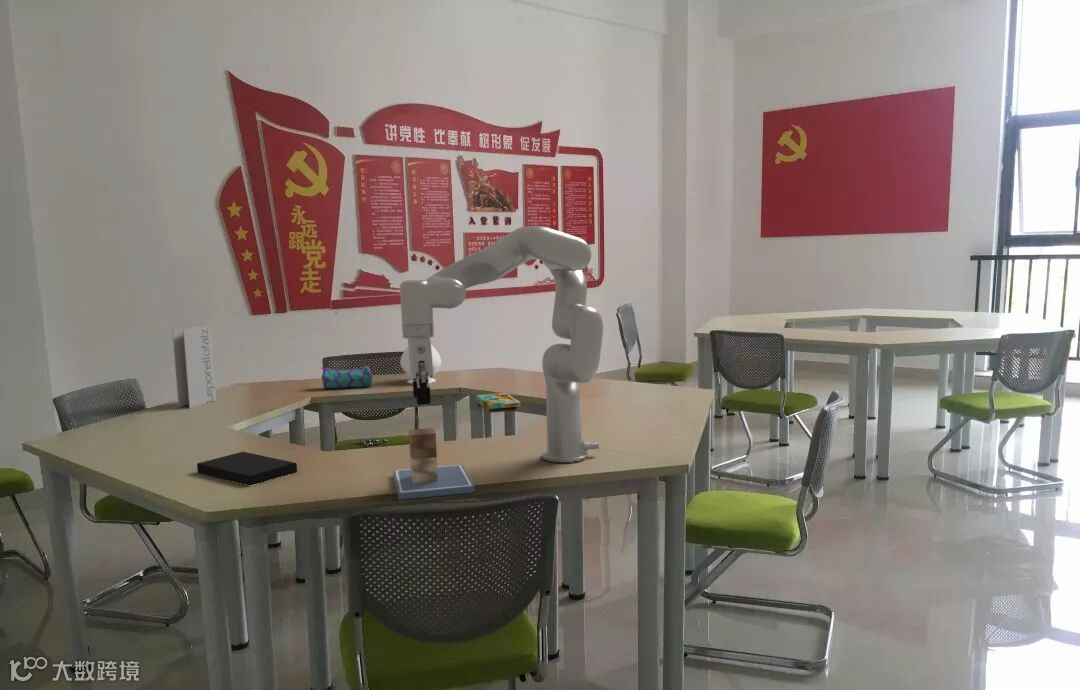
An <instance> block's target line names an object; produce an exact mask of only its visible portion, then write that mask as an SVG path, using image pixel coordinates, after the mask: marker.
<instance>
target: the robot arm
mask: <svg viewBox="0 0 1080 690" xmlns="http://www.w3.org/2000/svg"><path fill="white" fill-rule="evenodd" d="M591 259H592V250H591V247H590V245H589V244H588V243H587V242H586V240H584V239H582V238H580V237H577V236H574V235H571V234H568V233H565V232H562V231H559V230H555V229H552V228H549V227H546V226H541V225H533V226H532V225H531V226H529V225H528V226H521V227H518V228H517V229H514V230H512V231H511V232H509V233H507V234H506V235H504V236H502V237H501V238H499V239H497V240H496V241H495V242H493V243H491V244H489V245H488V246H486V247H484V248H483V249H481V250H478V251H476V252H474V253H472V254H470V255H469V256H467V257H464V258H462V259H459V260H458V261H456V262H453V263H451V264H450V265H448V266H446V267H444V268H442V269H440V270H439V271H437V272H435V273H434V274H432V275H431V276H429V277H428V278H426V279H410V280H404V281H402V282H401V283H400V285H399V297H400V313H401V329H402V330H401V331H402V332H401V333H402V338H403V339H405V340H406V339H407V347H408V351H409V362H410V370H411V374H412V376H413V384H412V393H413V398H416V404H417V405H418V406H420V405H430V404H431V402H432V401H431V387H430V383H429V380H428V376H430V378H433V379H434V376H435V374H433V363H432V350H431V345H432V344H431V338H433V337H435V331H434V328H435V327H434V314H433V313H434V311H433V309H450V310H451V309H455V308H457V307H459V306H461V305H462V304H463V303H464V301H465V299H466V297H467V291H466V290H467V289H469V288H471V287H472V288H473V287H475V286H478V285H484V284H488V283H492V282H494V281H497V280H500V279H501V278H503V277H504V276H505V275H507V274H509V273H511V272H512V271H513V270H515V269H517V268H519V267H520V266H521V265H523V264H525V263H526V262H528V261H531V260H540V261H541V262H542V263H543V265H544V266H545V267H546V268H547V269H548V270H549V272H550V273H551V275H552V277H553V279H554V282H555V283H554V284H555V294H554V296H555V297H554V303H553V311H552V319H551V330H552V331H553V333H554V335H556V336H557V337H558V338H560V339H565V340H570V344H569V343H568V344H567V343H554V344H552V345H550V346H549V347H548V348H546V350H545V351H544V353H543V356H542V361H541V367H542V371H543V372H542V373H543V377H544V383H545V396H546V397H545V398H546V399H545V400H546V403H545V404H546V440H547V441H546V443H547V444H546V447H547V449H546V450H544V451H542V453H541V458H542V459H543V460H544V461H546V460H547V462H550V461H551V463H557V462H560V463H559V464H562V463H561V462H571V463H574V462H573V461H578V460H582V459H584V460H586V459H587V458H588V450H599V449H600V448H599V446H600V445H599V442H598V441H595V442H594V441H593V442H592V441H585V440H584V439H583V438H582V395H581V393H582V392H581V386H580V384H584V383H588V382H590V381H591V380H593V378H594V377H595V376H596V374H597V372H598V369H599V365H600V358H601V353H602V343H603V338H604V337H603V336H604V322H603V317H602V316H601V313H600V312H599V311H598V310H597V309H596V308H594V307H592V306H589V305H587V295H588V294H587V293H588V291H587V290H588V283H587V278H586V275H585V273H584V272H583V270H584V269H585V268H586V267H588V265H589V264H590V262H591ZM586 457H587V458H586ZM585 458H586V459H585ZM582 461H583V460H582ZM578 462H579V461H578Z"/></svg>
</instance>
